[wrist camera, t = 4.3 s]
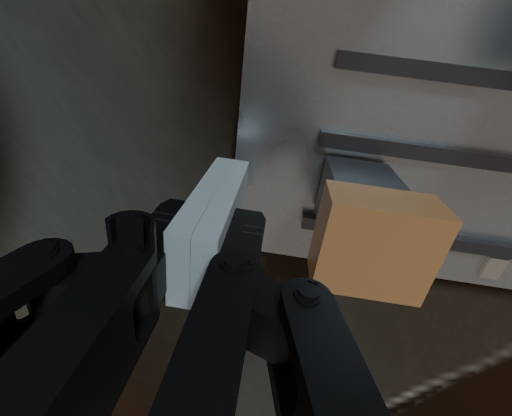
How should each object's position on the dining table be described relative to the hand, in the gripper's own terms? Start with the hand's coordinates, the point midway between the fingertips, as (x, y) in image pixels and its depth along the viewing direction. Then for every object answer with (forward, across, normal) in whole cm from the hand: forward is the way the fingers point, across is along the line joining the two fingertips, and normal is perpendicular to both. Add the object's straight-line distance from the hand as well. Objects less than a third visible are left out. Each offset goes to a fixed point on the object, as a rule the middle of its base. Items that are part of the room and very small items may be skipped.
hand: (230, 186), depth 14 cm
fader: (+2, +6, 0) cm, 6 cm away
